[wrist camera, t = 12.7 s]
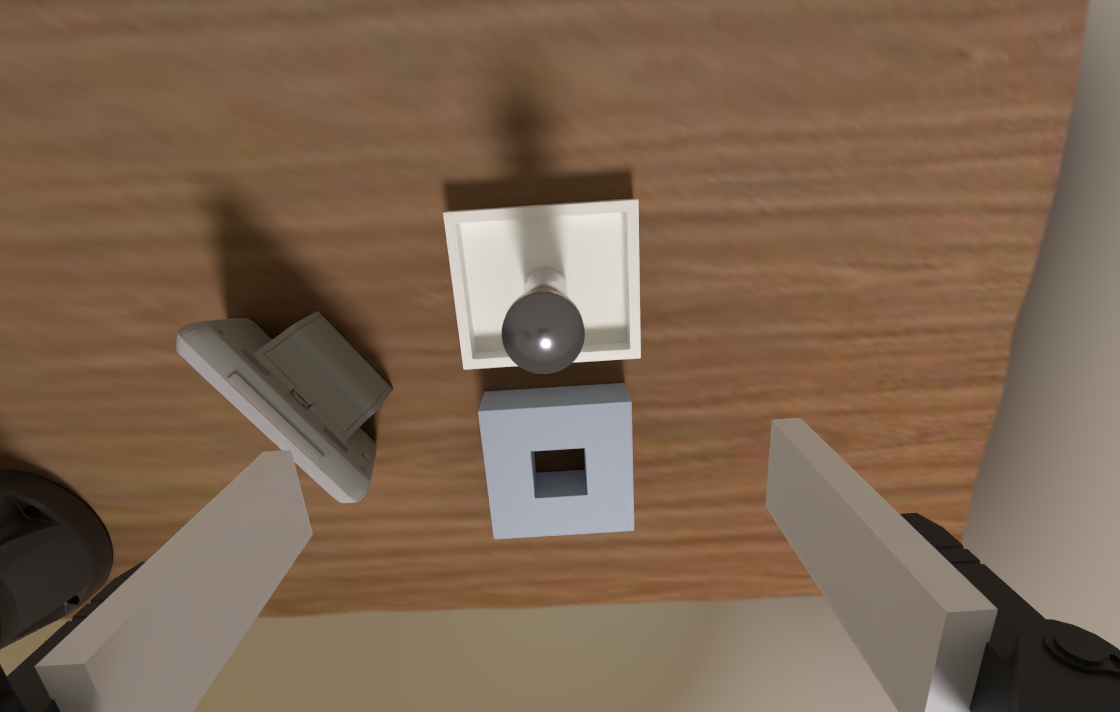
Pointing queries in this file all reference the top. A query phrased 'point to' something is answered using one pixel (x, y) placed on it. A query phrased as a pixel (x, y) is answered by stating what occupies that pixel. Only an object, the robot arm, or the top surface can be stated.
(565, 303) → the pin
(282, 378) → the digital clock
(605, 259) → the tray
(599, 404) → the socket block
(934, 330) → the top surface
